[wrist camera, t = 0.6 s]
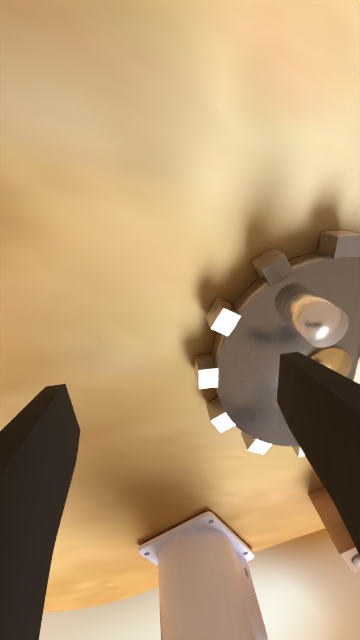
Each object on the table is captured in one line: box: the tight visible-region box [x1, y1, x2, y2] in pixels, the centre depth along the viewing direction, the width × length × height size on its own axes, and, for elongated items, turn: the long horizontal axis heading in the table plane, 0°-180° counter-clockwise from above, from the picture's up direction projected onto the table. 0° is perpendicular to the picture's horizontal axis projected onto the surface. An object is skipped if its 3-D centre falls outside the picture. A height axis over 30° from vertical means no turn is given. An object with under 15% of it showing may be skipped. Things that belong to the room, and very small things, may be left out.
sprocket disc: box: [195, 230, 360, 457], centre depth 18 cm, size 16×16×5 cm
